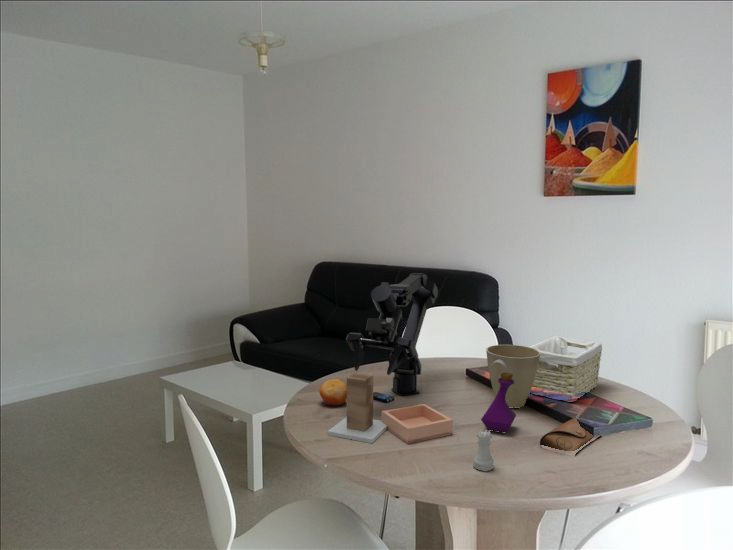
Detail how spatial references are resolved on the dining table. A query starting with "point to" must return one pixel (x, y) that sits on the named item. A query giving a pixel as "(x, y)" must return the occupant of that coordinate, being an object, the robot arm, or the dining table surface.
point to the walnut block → (359, 401)
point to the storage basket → (567, 365)
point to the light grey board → (366, 436)
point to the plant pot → (513, 370)
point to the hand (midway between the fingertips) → (371, 372)
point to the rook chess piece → (483, 452)
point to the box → (417, 423)
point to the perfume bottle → (500, 406)
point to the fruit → (333, 392)
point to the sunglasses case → (567, 436)
